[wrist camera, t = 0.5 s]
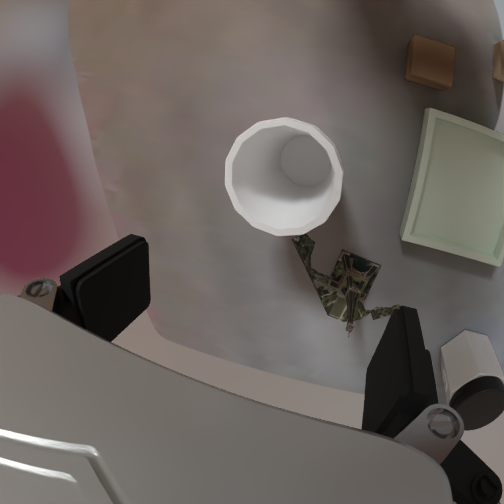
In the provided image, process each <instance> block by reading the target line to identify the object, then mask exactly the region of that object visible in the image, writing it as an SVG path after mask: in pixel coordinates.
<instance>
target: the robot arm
mask: <svg viewBox="0 0 504 504" xmlns="http://www.w3.org/2000/svg"><path fill="white" fill-rule="evenodd" d="M60 282H61V285H60V286H57V283H56V282H55V281H54V280H52V279H49V278H40V279H36V280H33V281H31V282H29V283H28V284H26V285H25V286H24V288H23V289H22V292H21V295H20V296H13V295H6V294H0V504H501V503H500V502H499V501H500V499H501V496H502V484H501V481H500V479H499V477H498V476H497V475H496V474H495V473H494V472H493V471H492V470H491V469H490V468H489V467H488V466H487V465H486V464H485V463H484V462H483V461H482V460H481V459H480V458H479V457H478V456H477V455H476V454H474V452H473V451H472V450H470V448H468V447H467V446H466V445H465V444H464V443H463V442H462V441H461V440H460V439H461V437H462V435H463V433H464V423H463V420H462V418H461V417H460V415H459V414H458V413H457V412H456V411H455V410H454V409H453V408H451V407H449V406H447V405H444V404H438V397H437V391H436V384H435V378H434V372H433V366H432V361H431V356H430V352H429V351H428V350H426V349H425V346H424V341H423V336H422V331H421V326H420V321H419V317H418V313H417V310H416V309H414V308H410V307H406V306H400V308H399V309H396V308H395V309H394V310H393V312H392V315H391V317H390V319H389V322H388V324H387V326H386V329H385V331H384V333H383V335H382V338H381V340H380V342H379V344H378V346H377V349H376V351H375V353H374V355H373V357H372V359H371V361H370V363H369V366H368V368H367V373H366V385H365V400H364V412H363V421H362V430H361V429H357V428H353V427H349V426H345V425H341V424H337V423H333V422H329V421H325V420H321V419H317V418H313V417H310V416H306V415H302V414H299V413H295V412H292V411H288V410H284V409H281V408H278V407H274V406H271V405H268V404H265V403H261V402H258V401H255V400H252V399H249V398H245V397H243V396H240V395H237V394H234V393H231V392H228V391H226V390H223V389H220V388H217V387H215V386H212V385H209V384H206V383H204V382H201V381H198V380H196V379H193V378H191V377H188V376H186V375H183V374H181V373H178V372H176V371H174V370H171V369H169V368H166V367H164V366H162V365H159V364H157V363H154V362H152V361H150V360H148V359H146V358H143V357H141V356H139V355H137V354H135V353H132V352H130V351H128V350H126V349H123V348H122V347H120V346H118V345H115V344H113V343H111V341H112V340H114V339H115V338H116V337H117V336H118V335H119V334H120V333H121V332H122V331H123V330H124V329H125V328H126V327H127V326H128V325H129V324H130V323H132V322H133V321H134V320H135V319H136V318H137V317H138V316H139V315H140V314H141V313H142V312H143V311H144V310H145V309H147V308H148V306H149V304H150V300H151V298H150V277H149V246H148V243H147V242H146V240H145V238H144V237H140V236H137V235H133V234H130V235H128V236H126V237H124V238H123V239H121V240H119V241H117V242H116V243H114V244H112V245H111V246H109V247H107V248H106V249H104V250H102V251H100V252H99V253H97V254H95V255H94V256H92V257H90V258H89V259H87V260H85V261H84V262H82V263H80V264H79V265H77V266H75V267H74V268H73V269H71V270H69V271H67V272H66V273H64V274H63V275H61V276H60Z"/></svg>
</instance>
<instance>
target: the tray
mask: <svg viewBox="0 0 504 504" xmlns="http://www.w3.org/2000/svg"><path fill="white" fill-rule="evenodd" d="M399 234H400V237H401V239H402V240H403V241H407V242H411V243H415V244H419V245H423V246H426V247H430V248H434V249H438V250H441V251H445V252H449V253H452V254H456V255H459V256H463V257H467V258H470V259H474V260H477V261H480V262H484V263H487V264H491V265H494V266H497V267H500V266H501V264H502V261H503V258H504V134H501V133H499V132H497V131H494V130H492V129H489V128H487V127H484V126H482V125H479V124H477V123H474V122H471V121H468V120H466V119H463V118H460V117H457V116H454V115H451V114H448V113H445V112H442V111H439V110H436V109H433V108H426V109H425V111H424V118H423V125H422V131H421V137H420V143H419V148H418V153H417V159H416V164H415V169H414V173H413V178H412V183H411V187H410V192H409V196H408V200H407V204H406V208H405V212H404V216H403V220H402V224H401V227H400V231H399Z"/></svg>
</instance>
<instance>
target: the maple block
mask: <svg viewBox="0 0 504 504" xmlns="http://www.w3.org/2000/svg"><path fill="white" fill-rule="evenodd" d="M492 78H494V79H497V80H499V81H501V82H503V83H504V40H502V41H500V42H498V43H496V44H495V45H494V53H493V77H492Z"/></svg>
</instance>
